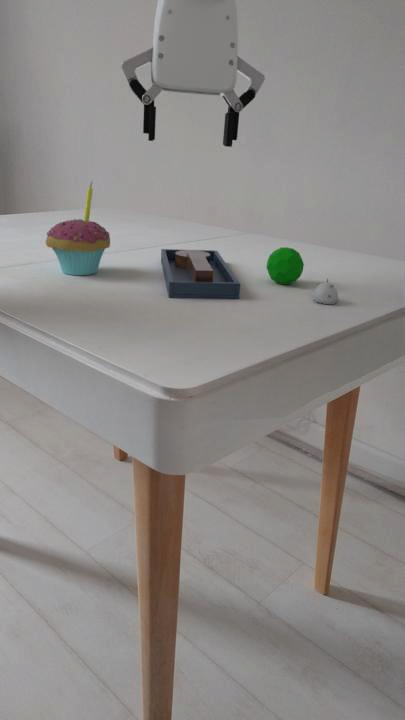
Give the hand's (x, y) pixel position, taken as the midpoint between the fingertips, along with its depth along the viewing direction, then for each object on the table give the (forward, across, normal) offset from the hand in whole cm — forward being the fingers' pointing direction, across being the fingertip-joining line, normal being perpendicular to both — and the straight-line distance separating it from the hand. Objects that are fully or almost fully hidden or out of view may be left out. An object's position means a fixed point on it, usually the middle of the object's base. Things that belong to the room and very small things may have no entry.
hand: (189, 143), depth 71 cm
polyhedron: (+17, -14, +1) cm, 22 cm away
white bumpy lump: (+17, -17, +10) cm, 26 cm away
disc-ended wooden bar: (+17, -2, -1) cm, 17 cm away
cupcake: (+18, +14, -3) cm, 23 cm away
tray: (+17, -2, -1) cm, 18 cm away
